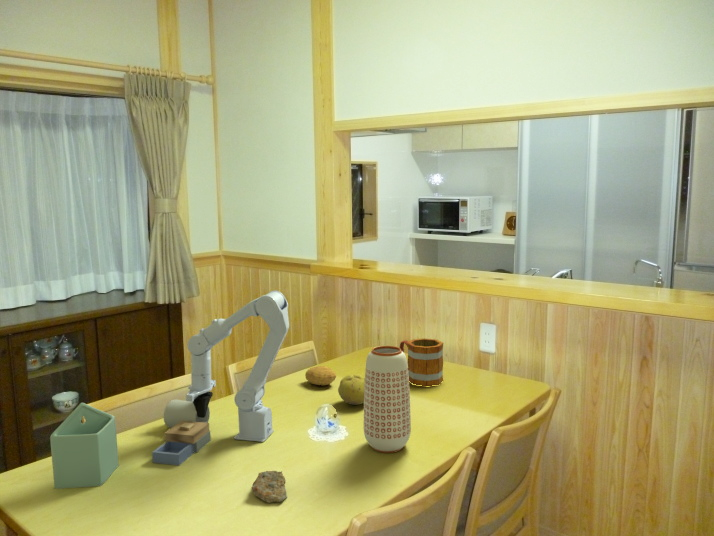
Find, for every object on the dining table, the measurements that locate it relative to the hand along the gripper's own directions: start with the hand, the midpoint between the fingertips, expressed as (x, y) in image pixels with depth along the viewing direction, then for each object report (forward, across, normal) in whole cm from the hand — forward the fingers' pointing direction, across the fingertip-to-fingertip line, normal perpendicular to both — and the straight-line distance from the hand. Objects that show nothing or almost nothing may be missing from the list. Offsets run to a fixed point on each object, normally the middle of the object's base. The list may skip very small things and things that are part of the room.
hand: (201, 416), depth 176 cm
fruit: (+4, -32, +40) cm, 51 cm away
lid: (+2, +9, 0) cm, 9 cm away
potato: (+4, -49, +23) cm, 55 cm away
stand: (+5, +8, 0) cm, 10 cm away
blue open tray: (+5, +16, 0) cm, 17 cm away
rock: (+5, +29, +34) cm, 45 cm away
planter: (+6, +32, -13) cm, 35 cm away
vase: (+3, -2, +56) cm, 57 cm away
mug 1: (+2, -4, -12) cm, 13 cm away
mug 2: (+3, -62, +58) cm, 85 cm away
